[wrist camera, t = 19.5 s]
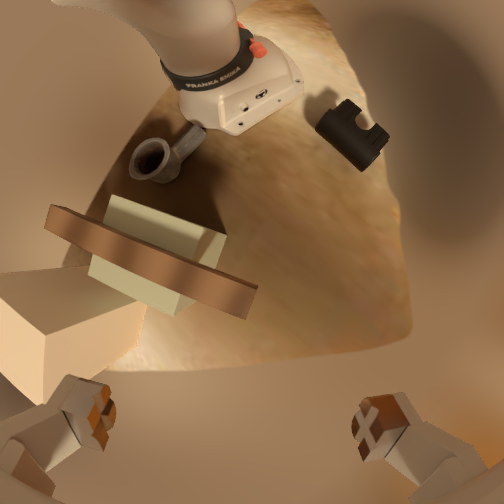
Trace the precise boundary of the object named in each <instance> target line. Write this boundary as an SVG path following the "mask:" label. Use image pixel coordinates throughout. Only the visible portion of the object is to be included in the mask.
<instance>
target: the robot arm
mask: <svg viewBox="0 0 504 504" xmlns="http://www.w3.org/2000/svg"><path fill="white" fill-rule="evenodd" d="M51 1H52V2H53V3H55V4H57V5H59V6H63V7H83V8H89V9H94V10H98V11H101V12H104V13H106V14H109V15H111V16H113V17H115V18H118V19H119V20H121V21H123V22H125V23H127V24H129V25H130V26H132V27H133V28H135V29H136V30H137V31H139V32H140V33H141V34H142V35H143V36H144V37H145V38H146V39H147V40H148V41H149V43H150V44H151V46H152V47H153V48H154V50H155V51H156V53H157V54H158V56H159V57H160V62H161V65H162V69H163V71H164V73H165V75H166V76H167V78H168V80H169V81H170V83H171V84H172V86H174V87H175V88H176V90H177V93H178V97H179V107H180V110H181V112H182V114H183V115H184V117H185V118H186V119H187V120H188V121H190V122H191V123H193V124H196V125H198V126H200V127H204V128H212V129H220V130H222V131H224V132H226V133H228V134H230V135H239V134H241V133H242V132H244V131H245V130H247V129H249V128H250V127H252V126H253V125H255V124H256V123H258V122H259V121H261V120H263V119H264V118H266V117H267V116H269V115H271V114H272V113H274V112H275V111H277V110H279V109H280V108H282V107H284V106H285V105H287V104H289V103H291V102H292V101H294V100H296V99H297V98H299V97H301V96H302V95H303V94H304V81H303V78H302V75H301V73H300V71H299V69H298V67H297V66H296V64H295V63H294V61H293V60H292V59H291V58H290V57H289V55H287V54H286V53H285V52H284V51H283V50H282V49H280V48H278V47H277V46H276V45H275V44H274V43H273V42H272V41H270V40H269V39H267V38H265V37H262V36H253V35H252V34H251V32H250V31H249V30H247V29H245V28H244V27H243V25H242V24H241V23H239V22H238V21H237V17H236V11H235V6H234V4H233V2H232V1H231V0H51ZM296 81H299V83H298V82H296ZM240 123H243V125H242V126H240V125H239V124H240ZM110 395H111V390H110V387H109V386H108V385H106V384H102V383H99V382H95V381H91V380H88V379H85V378H81V377H77V376H74V375H71V374H67V375H65V376H64V377H63V379H62V380H61V382H60V383H59V385H58V386H57V388H56V389H55V391H54V392H53V394H52V395H51V397H50V398H49V400H48V401H47V403H46V404H43V403H42V404H40V405H37V406H35V407H33V408H31V409H29V410H26V411H24V412H22V413H20V414H17V415H15V416H13V417H11V418H8V419H6V420H4V421H1V422H0V504H65V503H63V502H60V501H58V500H56V499H54V498H52V494H53V491H54V489H55V483H54V482H53V481H52V479H51V478H50V477H49V476H48V475H47V474H46V473H45V472H47V471H48V470H50V469H51V468H52V467H54V466H55V465H57V464H58V463H59V462H61V461H62V460H63V459H65V458H66V457H68V456H69V455H70V454H72V453H73V452H74V451H76V450H77V449H78V448H80V447H81V446H80V445H82V446H85V447H88V448H91V449H95V450H98V451H102V452H104V449H105V447H106V444H107V441H108V438H109V436H108V433H107V431H108V430H110V429H111V428H113V426H114V423H115V419H116V407H115V403H114V401H113V400H111V399H110ZM359 407H360V409H361V410H359V411H358V412H357V413H356V414H355V415H354V417H353V419H352V425H351V429H352V434H353V437H354V439H355V440H357V441H359V442H360V444H359V446H358V450H359V453H360V455H361V458H362V460H363V462H367V461H372V460H377V459H382V458H385V460H386V461H387V462H389V463H390V464H391V465H392V466H393V467H395V468H396V469H397V470H398V471H400V472H401V473H402V474H403V475H405V476H406V477H407V478H409V479H410V480H411V481H412V482H414V483H415V484H416V485H418V486H419V487H418V488H416V489H415V490H414V491H413V492H412V493H411V494H410V496H409V500H410V502H411V504H504V459H503V460H501V461H500V462H498V463H497V464H495V465H494V466H492V467H491V468H490V469H488V468H487V467H486V465H485V463H484V462H483V460H482V459H481V457H480V456H479V454H478V452H477V451H476V449H475V448H474V447H473V445H470V444H469V443H466V442H465V441H463V440H461V439H459V438H457V437H455V436H453V435H451V434H449V433H447V432H445V431H443V430H441V429H440V428H438V427H436V426H434V425H432V424H430V423H428V422H427V421H426V422H423V421H422V420H421V418H420V416H419V415H418V413H417V412H416V410H415V409H414V407H413V406H412V404H411V402H410V401H409V399H408V398H407V396H406V395H405V393H403V392H399V393H393V394H386V395H380V396H373V397H367V398H364V399H363V400H362V401H361V403H360V404H359Z"/></svg>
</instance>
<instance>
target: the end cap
mask: <svg viewBox="0 0 504 504" xmlns="http://www.w3.org/2000/svg"><path fill="white" fill-rule="evenodd" d="M361 111H362V110H361V109H360V108H359V107H358V106H357V105H355V104H354V103H353V102H352V101H351V100H349V99H346V100H345V101H343V102H342V103H341V104H339V105H338V106H337V107H336V108H335V109H334V110H332V109H329V110H328V111H327V112H326V113H325V114H324V115H323V117H322V118H321V119H320V120H319V122H318V123H317V125H316V127H315V131H316V132H317V133H318V134H319V135H321V136H322V137H323V138H324V139H325V140H326V141H328V142H329V143H330V144H331V145H332V146H333V147H334V148H336V149H337V150H338V151H339V152H340V153H341V154H342V155H343V156H344V157H345V158H347V159H348V160H349V161H350V162H351V163H352V164H353V165H354V166H355V167H356V168H357V169H358V170H359V171H360V172H363V171H364V170H365V169H366V168H367V167H368V166H369V165H370V164H371V163H372V162H373V161H374V160H375V159H376V158H377V157H378V156H379V155H380V152H379V151H380V150H381V149H382V148H383V147H384V145H385V144H386V143H387V142H388V139H389V137H390V136H389V134H388V133H387V132H386V131H385V130H384V129H383V128H381V127H380V126H379V125H378V124H377V123H376V124H375V125H374V126H373V127H372V128H371V129H369V130H363V129H361V128H359V127H358V126H357V124H356V122H355V118H356V116H357V115H358V114H359V113H360V112H361Z"/></svg>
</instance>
